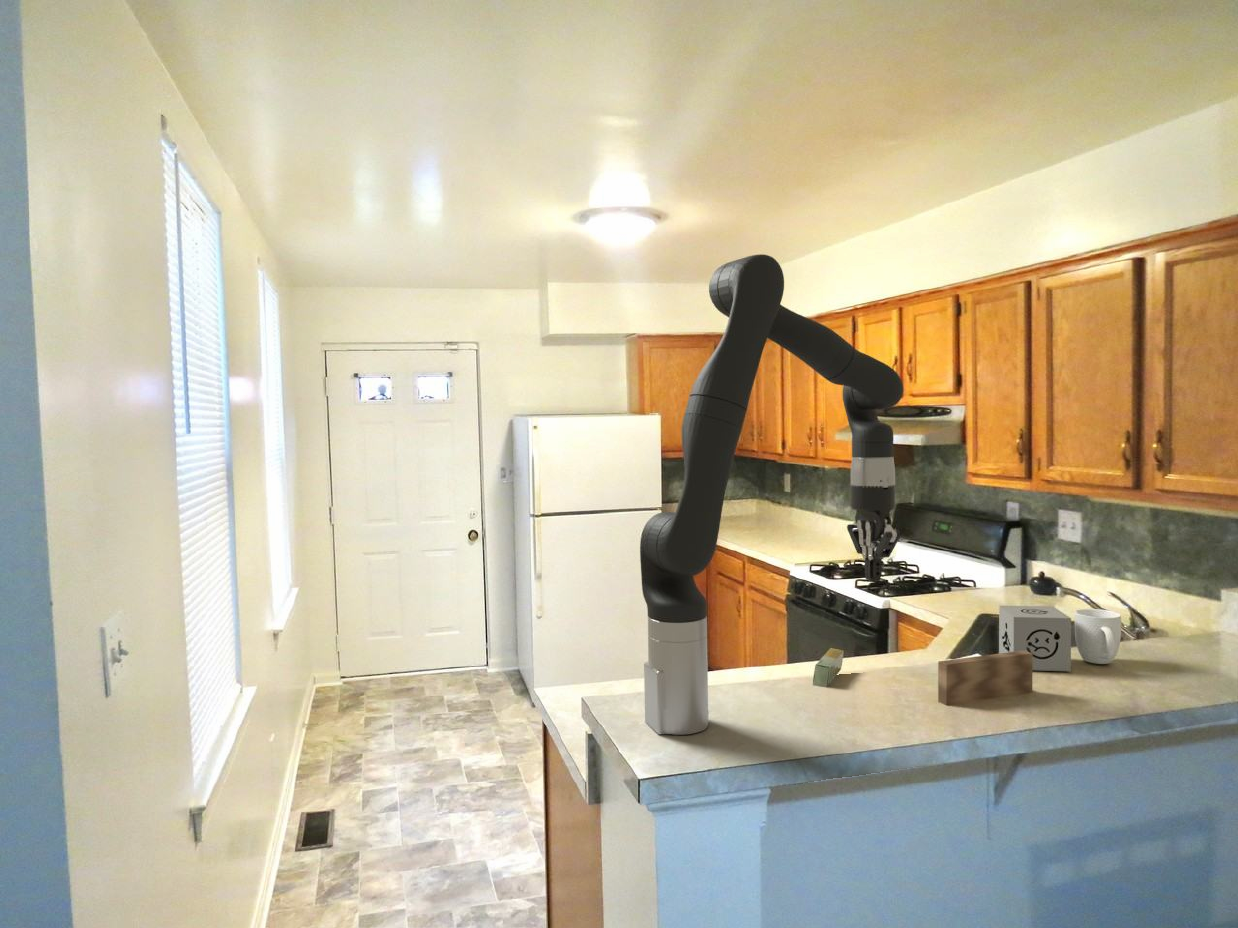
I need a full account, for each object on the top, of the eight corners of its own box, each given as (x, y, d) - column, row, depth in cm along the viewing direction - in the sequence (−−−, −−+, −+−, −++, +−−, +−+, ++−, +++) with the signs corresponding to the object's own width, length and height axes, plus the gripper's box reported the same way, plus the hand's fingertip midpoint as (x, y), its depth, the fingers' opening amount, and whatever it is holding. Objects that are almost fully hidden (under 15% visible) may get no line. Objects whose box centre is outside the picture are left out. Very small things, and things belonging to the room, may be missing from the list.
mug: (1134, 671, 156) (1135, 621, 156) (1088, 670, 158) (1089, 620, 157) (1110, 655, 167) (1110, 608, 166) (1067, 654, 168) (1068, 608, 168)
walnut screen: (946, 706, 140) (946, 664, 140) (938, 702, 142) (938, 661, 142) (1032, 693, 146) (1032, 653, 145) (1023, 689, 148) (1023, 650, 147)
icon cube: (1052, 656, 167) (1053, 606, 167) (1070, 671, 157) (1071, 618, 157) (999, 654, 169) (999, 605, 168) (1013, 669, 159) (1013, 616, 158)
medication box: (827, 689, 150) (829, 667, 150) (812, 686, 151) (814, 664, 151) (842, 669, 161) (844, 649, 160) (827, 666, 162) (829, 646, 162)
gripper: (833, 481, 154) (833, 575, 155) (877, 486, 142) (877, 588, 142) (868, 479, 156) (868, 572, 157) (914, 484, 144) (914, 585, 145)
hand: (873, 580), depth 150 cm, fingers closed
